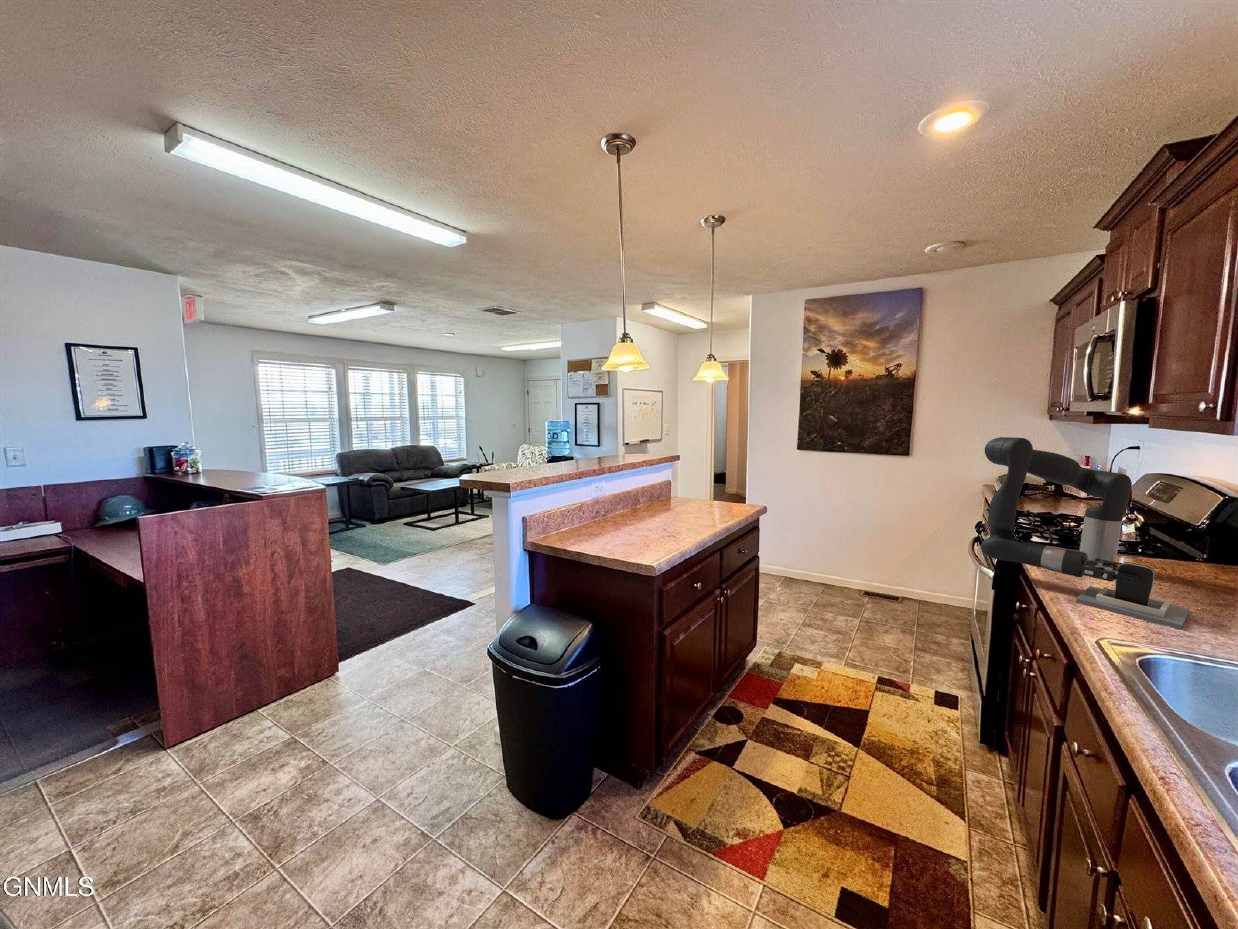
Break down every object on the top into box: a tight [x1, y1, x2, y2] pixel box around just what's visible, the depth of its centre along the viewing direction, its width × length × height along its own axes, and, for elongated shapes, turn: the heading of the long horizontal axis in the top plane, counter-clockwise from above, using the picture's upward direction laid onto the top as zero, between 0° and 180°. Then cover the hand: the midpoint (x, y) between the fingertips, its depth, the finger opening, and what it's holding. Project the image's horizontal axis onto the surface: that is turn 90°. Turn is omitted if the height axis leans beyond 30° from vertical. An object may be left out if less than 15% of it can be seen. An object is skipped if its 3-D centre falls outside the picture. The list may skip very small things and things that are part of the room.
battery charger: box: [1114, 561, 1155, 607], centre depth 135 cm, size 7×4×11 cm, turn 37°
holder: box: [1075, 585, 1191, 630], centre depth 136 cm, size 16×20×3 cm
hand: (1141, 577), depth 134 cm, fingers open, 8 cm apart
